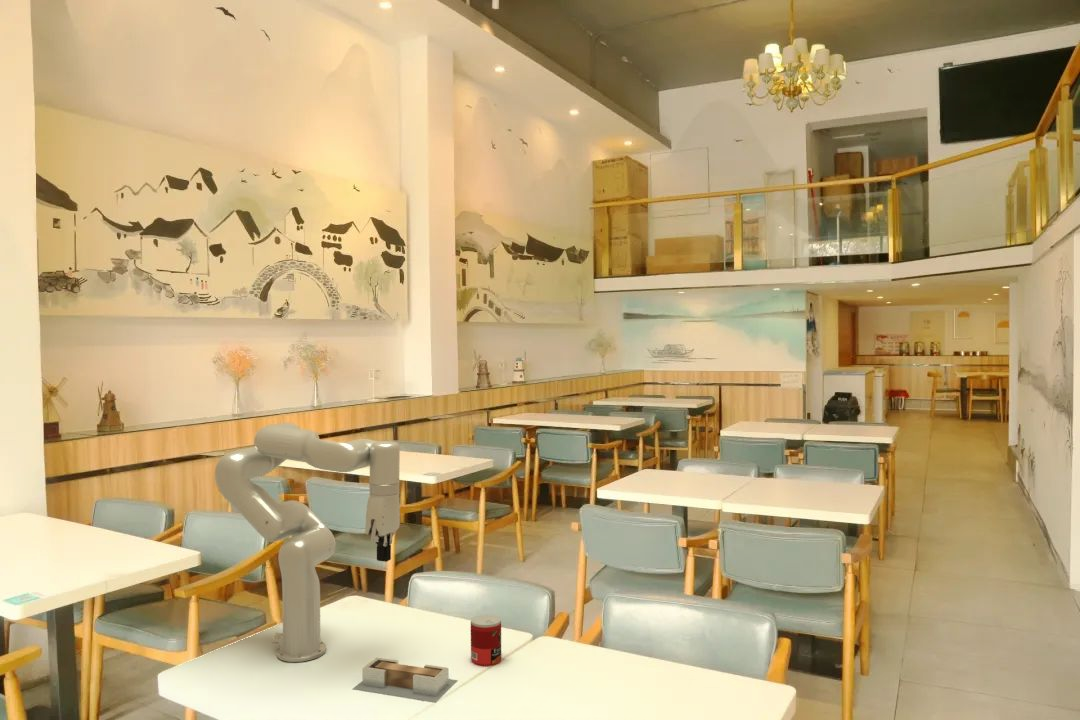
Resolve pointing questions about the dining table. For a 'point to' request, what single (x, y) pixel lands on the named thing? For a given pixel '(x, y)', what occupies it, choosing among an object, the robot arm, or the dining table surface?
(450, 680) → the mat
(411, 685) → the slat
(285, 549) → the robot arm
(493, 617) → the canned food
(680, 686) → the dining table surface
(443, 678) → the endcap
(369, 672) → the endcap
